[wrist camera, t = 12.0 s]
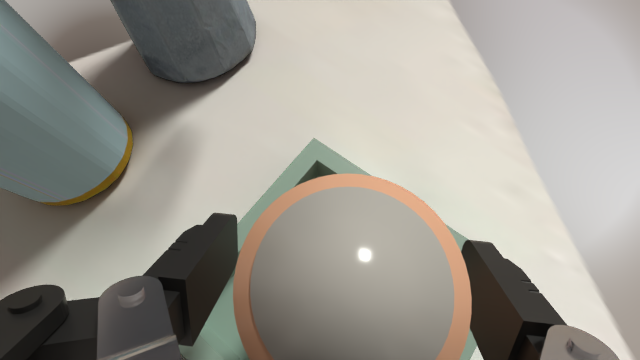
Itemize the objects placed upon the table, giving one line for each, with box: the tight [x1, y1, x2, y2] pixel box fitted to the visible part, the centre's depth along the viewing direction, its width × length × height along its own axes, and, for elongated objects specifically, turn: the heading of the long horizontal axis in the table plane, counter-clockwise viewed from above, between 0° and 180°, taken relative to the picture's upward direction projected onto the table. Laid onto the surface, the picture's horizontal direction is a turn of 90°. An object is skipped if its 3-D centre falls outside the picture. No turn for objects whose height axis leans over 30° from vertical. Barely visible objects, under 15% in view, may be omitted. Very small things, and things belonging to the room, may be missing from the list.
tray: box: [178, 138, 477, 360], centre depth 16 cm, size 12×12×2 cm
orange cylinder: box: [233, 173, 472, 360], centre depth 11 cm, size 5×5×10 cm
